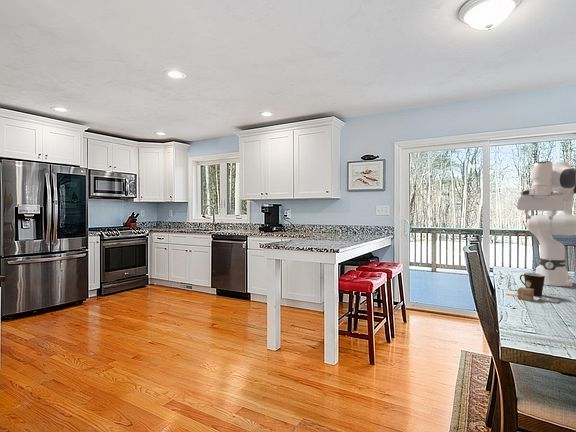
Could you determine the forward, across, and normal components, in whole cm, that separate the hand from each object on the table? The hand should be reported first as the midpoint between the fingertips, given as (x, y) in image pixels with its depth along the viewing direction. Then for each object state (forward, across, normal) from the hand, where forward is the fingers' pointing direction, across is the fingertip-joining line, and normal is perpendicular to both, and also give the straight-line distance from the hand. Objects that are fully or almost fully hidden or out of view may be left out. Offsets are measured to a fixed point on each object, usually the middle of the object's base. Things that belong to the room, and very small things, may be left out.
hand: (539, 219), depth 181 cm
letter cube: (+39, -1, +18) cm, 43 cm away
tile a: (+39, -9, +12) cm, 41 cm away
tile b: (+39, +5, +12) cm, 41 cm away
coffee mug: (+38, 0, +3) cm, 38 cm away
